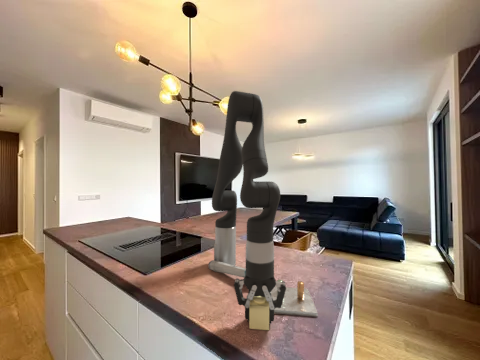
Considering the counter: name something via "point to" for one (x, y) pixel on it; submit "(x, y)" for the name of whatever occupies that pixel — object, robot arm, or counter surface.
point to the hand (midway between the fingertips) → (259, 320)
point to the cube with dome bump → (259, 313)
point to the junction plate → (295, 301)
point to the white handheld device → (226, 268)
